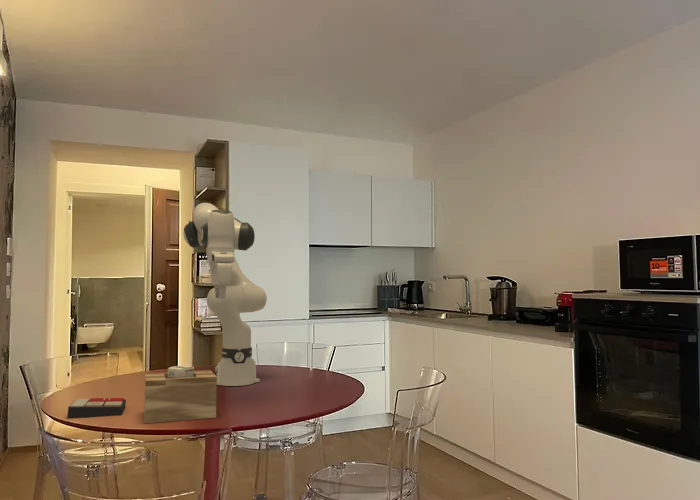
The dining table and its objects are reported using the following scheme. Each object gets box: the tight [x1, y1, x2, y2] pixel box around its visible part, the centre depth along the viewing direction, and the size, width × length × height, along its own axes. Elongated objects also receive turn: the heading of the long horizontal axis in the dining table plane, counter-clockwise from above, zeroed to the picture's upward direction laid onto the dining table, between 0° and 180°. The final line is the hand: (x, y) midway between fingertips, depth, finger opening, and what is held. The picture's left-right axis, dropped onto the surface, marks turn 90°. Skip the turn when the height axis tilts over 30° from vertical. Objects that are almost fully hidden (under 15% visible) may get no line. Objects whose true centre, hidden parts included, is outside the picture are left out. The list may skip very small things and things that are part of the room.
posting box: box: [143, 369, 218, 424], centre depth 166 cm, size 14×20×12 cm
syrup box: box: [167, 365, 195, 378], centre depth 166 cm, size 6×6×14 cm
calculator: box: [67, 397, 127, 420], centre depth 168 cm, size 11×4×15 cm
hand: (220, 298), depth 181 cm, fingers open, 8 cm apart
